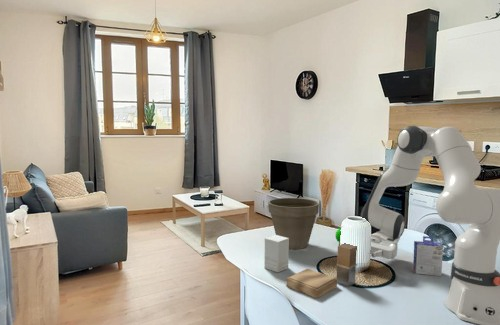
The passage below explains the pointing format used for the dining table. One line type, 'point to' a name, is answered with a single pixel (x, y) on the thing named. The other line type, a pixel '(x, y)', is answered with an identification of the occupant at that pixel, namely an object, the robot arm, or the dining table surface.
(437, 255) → the ink cartridge box
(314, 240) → the dining table surface
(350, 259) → the block
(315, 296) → the oak plinth
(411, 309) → the dining table surface
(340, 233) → the ornament
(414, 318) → the dining table surface
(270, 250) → the supplement box
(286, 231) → the plant pot
